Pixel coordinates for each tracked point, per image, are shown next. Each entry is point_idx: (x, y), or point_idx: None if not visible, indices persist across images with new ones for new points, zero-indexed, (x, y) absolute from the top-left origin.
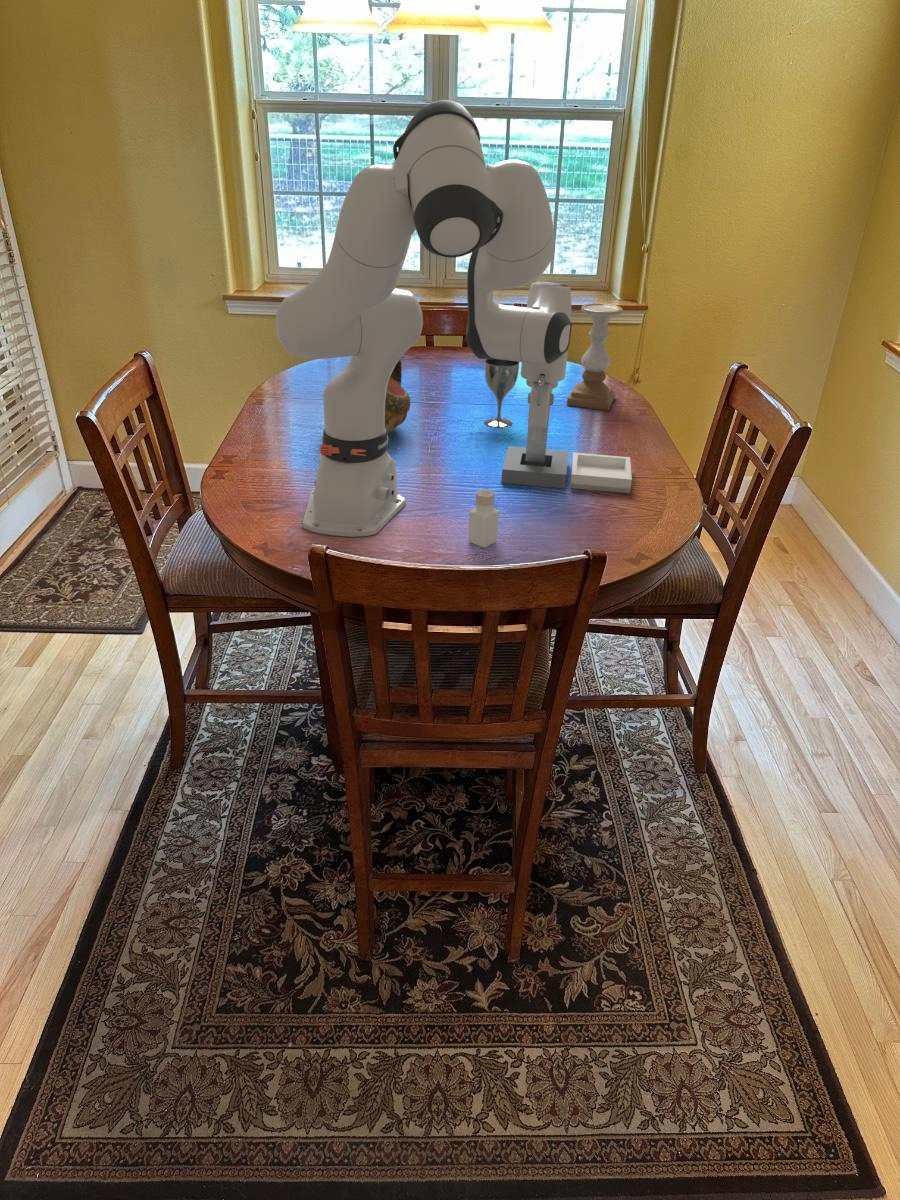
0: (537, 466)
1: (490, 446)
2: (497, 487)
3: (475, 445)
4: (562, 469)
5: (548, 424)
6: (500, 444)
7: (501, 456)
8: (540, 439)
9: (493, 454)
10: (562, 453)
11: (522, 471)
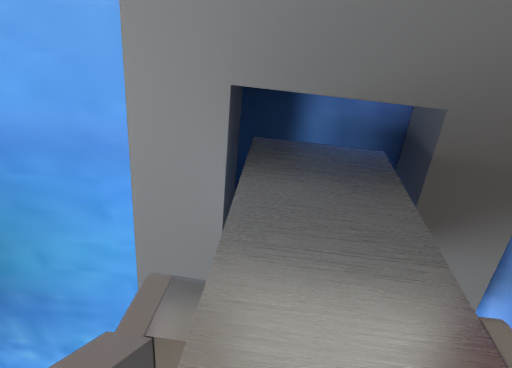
0: (429, 193)
1: (45, 311)
2: (477, 316)
3: (56, 353)
4: (505, 23)
5: (208, 287)
6: (7, 277)
7: (136, 282)
8: (503, 326)
9: (124, 307)
10: (173, 4)
11: (490, 273)
